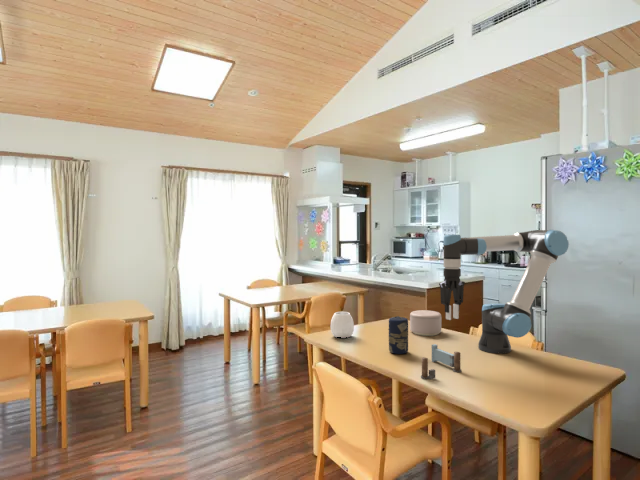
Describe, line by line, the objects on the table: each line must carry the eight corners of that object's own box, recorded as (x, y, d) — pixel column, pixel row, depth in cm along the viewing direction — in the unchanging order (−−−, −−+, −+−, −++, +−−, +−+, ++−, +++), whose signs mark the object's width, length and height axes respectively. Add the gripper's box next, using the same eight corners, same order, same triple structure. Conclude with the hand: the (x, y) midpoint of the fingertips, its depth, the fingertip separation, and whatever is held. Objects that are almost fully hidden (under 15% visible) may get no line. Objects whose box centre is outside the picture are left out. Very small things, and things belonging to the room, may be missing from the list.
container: (413, 336, 232) (413, 316, 231) (407, 328, 250) (407, 309, 249) (445, 336, 231) (445, 316, 231) (437, 328, 249) (437, 309, 249)
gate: (456, 368, 177) (456, 351, 177) (452, 369, 176) (452, 352, 176) (435, 360, 189) (435, 344, 189) (431, 360, 188) (431, 344, 188)
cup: (327, 334, 237) (327, 311, 237) (348, 332, 241) (348, 310, 241) (335, 340, 224) (335, 316, 224) (357, 338, 228) (357, 314, 228)
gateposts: (457, 369, 177) (457, 350, 177) (464, 372, 173) (464, 353, 173) (419, 377, 168) (418, 357, 168) (425, 380, 164) (425, 360, 164)
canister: (393, 356, 196) (393, 318, 196) (385, 350, 205) (385, 314, 205) (411, 354, 199) (411, 317, 198) (402, 348, 208) (402, 313, 207)
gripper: (459, 266, 194) (459, 315, 194) (432, 268, 187) (432, 319, 187) (472, 267, 187) (472, 318, 188) (443, 269, 180) (443, 322, 180)
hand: (452, 318), depth 187 cm, fingers open, 4 cm apart
